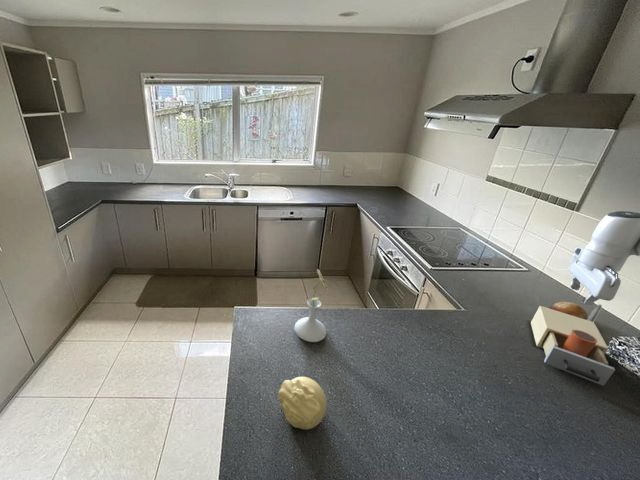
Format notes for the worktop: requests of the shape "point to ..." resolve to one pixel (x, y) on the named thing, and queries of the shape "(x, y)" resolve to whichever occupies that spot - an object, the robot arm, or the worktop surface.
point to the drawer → (576, 360)
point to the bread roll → (570, 309)
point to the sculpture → (302, 402)
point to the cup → (579, 343)
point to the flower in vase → (312, 319)
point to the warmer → (562, 326)
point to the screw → (594, 313)
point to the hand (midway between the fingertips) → (580, 295)
